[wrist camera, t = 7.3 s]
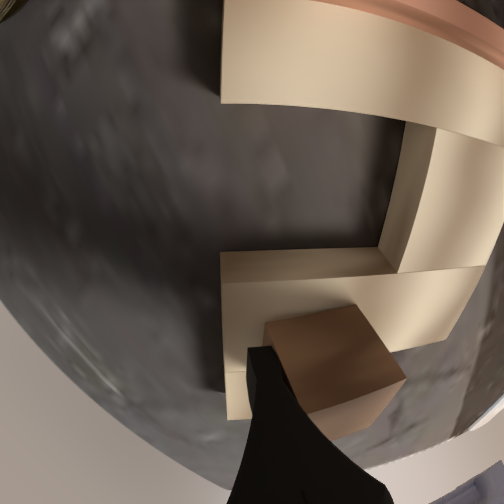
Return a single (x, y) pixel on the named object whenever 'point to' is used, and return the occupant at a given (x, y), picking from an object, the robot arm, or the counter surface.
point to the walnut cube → (335, 368)
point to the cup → (10, 8)
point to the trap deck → (408, 171)
